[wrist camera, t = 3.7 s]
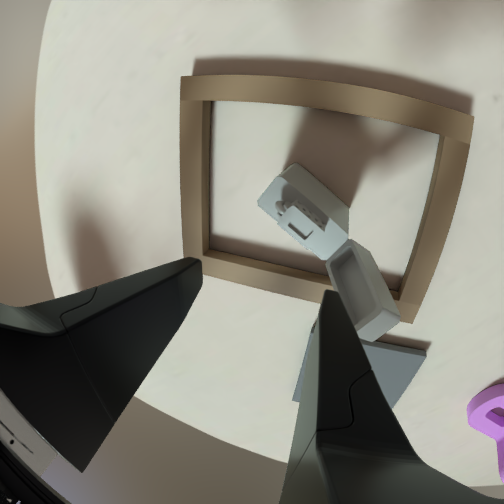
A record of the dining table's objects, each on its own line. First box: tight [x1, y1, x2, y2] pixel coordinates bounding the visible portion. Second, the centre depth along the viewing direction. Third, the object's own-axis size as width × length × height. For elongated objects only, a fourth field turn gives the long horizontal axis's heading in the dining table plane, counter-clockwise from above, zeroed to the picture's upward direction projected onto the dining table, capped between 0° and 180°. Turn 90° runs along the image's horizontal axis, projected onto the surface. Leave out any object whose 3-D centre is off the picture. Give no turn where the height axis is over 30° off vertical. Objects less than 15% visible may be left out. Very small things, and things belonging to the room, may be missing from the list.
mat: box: [292, 327, 427, 409], centre depth 22 cm, size 9×9×1 cm
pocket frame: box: [180, 75, 474, 324], centre depth 16 cm, size 16×13×1 cm
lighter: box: [257, 163, 401, 342], centre depth 13 cm, size 7×2×8 cm, turn 55°
